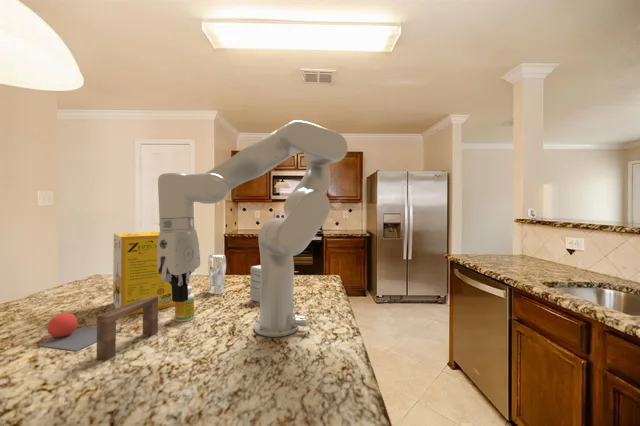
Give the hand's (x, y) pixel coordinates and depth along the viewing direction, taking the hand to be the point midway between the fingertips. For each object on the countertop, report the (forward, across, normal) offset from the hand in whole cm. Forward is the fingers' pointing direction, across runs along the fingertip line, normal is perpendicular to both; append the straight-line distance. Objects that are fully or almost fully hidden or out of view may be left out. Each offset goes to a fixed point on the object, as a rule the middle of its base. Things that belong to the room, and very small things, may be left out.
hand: (180, 300), depth 70 cm
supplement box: (+13, +41, -4) cm, 43 cm away
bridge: (+11, -1, +14) cm, 18 cm away
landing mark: (+11, -1, +29) cm, 31 cm away
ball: (+8, -1, +34) cm, 35 cm away
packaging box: (+12, +25, +34) cm, 44 cm away
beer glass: (+13, +45, +18) cm, 50 cm away
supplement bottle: (+12, +17, +12) cm, 24 cm away
